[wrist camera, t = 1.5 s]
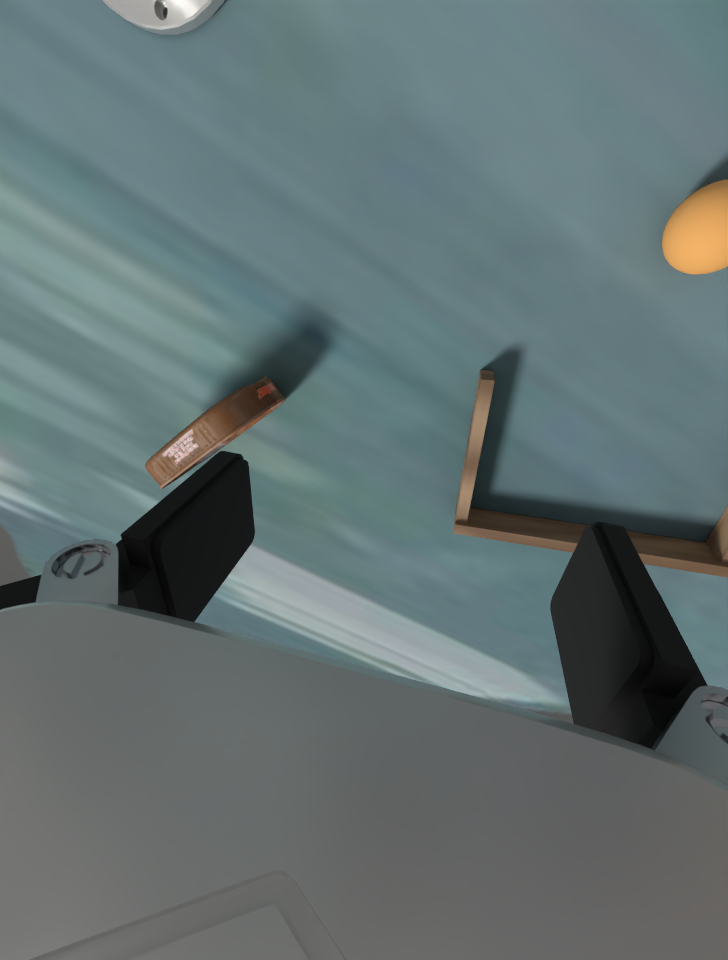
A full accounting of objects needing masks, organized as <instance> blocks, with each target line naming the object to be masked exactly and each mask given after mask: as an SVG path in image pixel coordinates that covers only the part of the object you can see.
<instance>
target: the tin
mask: <svg viewBox="0 0 728 960" xmlns="http://www.w3.org/2000/svg"><path fill="white" fill-rule="evenodd" d="M285 400H286V398H285V397H283V396H282V395H281V393H280V392H279V390H278V389H277V388H276V386H275V385H274V384H273V382H272V381H271V380H270V379H269V378H268V377H263V378H262V379H261V380H260V381H258V382H256V383H254V384H252V385H249V386H245V387H243V388H240V389H239V390H237V391H235V392H234V393H232V394H230V395H229V396H227V397H226V398H224V399H223V400H221V401H220V402H218V403H217V404H216V405H214V406H213V407H211V408H210V409H209V410H207V411H206V412H205V413H204V414H202V415H201V416H200V417H198V418H197V419H196V420H195V421H193V422H192V423H191V424H190V425H189V426H187V427H186V428H185V429H184V430H183V431H181V432H180V433H179V434H178V435H177V436H175V437H174V438H173V439H172V440H171V441H169V442H168V443H167V444H166V445H165V446H164V447H162V448H161V449H160V450H159V451H158V452H157V453H156V454H154V455H153V456H152V457H151V458H150V459H149V460H148V461H147V462H146V464H145V468H146V469H147V471H148V472H149V473H150V475H151V476H152V477H153V478H154V479H155V480H156V481H157V483H158V484H159V485H160V488H161V489H163V488H164V487H166V486H167V485H169V484H170V483H172V482H174V481H175V480H177V479H178V478H179V477H181V476H182V475H184V474H185V473H187V472H188V471H190V470H191V469H192V468H194V467H195V466H197V465H198V464H200V463H201V462H203V461H205V460H206V459H208V458H209V457H210V456H212V455H213V454H214V453H216V452H217V451H219V450H220V449H221V448H223V447H224V446H225V445H227V444H228V443H230V442H231V441H232V440H234V439H235V438H236V437H238V436H239V435H240V434H242V433H243V432H244V431H246V430H247V429H248V428H250V427H251V426H253V425H254V424H255V423H257V422H258V421H259V420H261V419H262V418H263V417H265V416H266V415H267V414H269V413H270V412H272V411H273V410H274V409H275V408H277V407H278V406H279V405H281V404H282V403H283V402H284V401H285Z"/></svg>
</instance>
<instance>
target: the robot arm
mask: <svg viewBox="0 0 728 960" xmlns="http://www.w3.org/2000/svg"><path fill="white" fill-rule="evenodd" d="M103 1H104V2H105V3H106V5H107V6H108V7H110V8H111V9H112V10H114V11H115V12H117V13H118V14H119V15H121V16H122V17H123V18H125V19H126V20H128V21H129V22H131V23H133V24H135V25H136V26H138V27H140V28H142V29H143V30H147V31H150V32H153V33H157V34H160V35H178V34H182V33H185V32H188V31H191V30H194V29H196V28H197V27H198V26H200V25H201V24H203V23H204V22H206V21H207V20H208V19H210V18H211V16H212V15H213V14H214V13H215V12H216V11H217V10H218V8H219V7H220V6H221V5H222V4H223V3H224V1H225V0H103ZM254 534H255V529H254V518H253V507H252V497H251V486H250V476H249V465H248V462H247V461H246V460H244V459H243V457H242V455H241V454H236V453H231V452H226V451H220V452H219V453H217V454H216V455H215V456H214V457H213V458H211V459H210V460H209V461H208V462H207V463H205V464H204V465H203V466H202V467H201V468H200V469H198V470H197V471H196V472H195V473H194V474H192V475H191V476H190V477H189V478H188V479H186V480H185V481H184V482H183V483H182V484H180V485H179V486H178V487H177V488H176V489H174V490H173V491H172V492H171V493H170V494H169V495H167V496H166V497H165V498H164V499H163V500H161V501H160V502H159V503H158V504H157V505H155V506H154V507H153V508H152V509H151V510H149V511H148V512H147V513H146V514H145V515H143V516H142V517H141V518H140V519H139V520H137V521H136V522H135V523H134V524H133V525H132V526H130V527H129V528H128V529H127V530H126V531H124V532H123V533H122V534H121V537H122V540H121V541H119V542H118V543H117V544H116V545H115V544H113V543H112V542H110V541H107V540H100V539H93V540H85V541H81V542H77V543H74V544H71V545H69V546H67V547H65V548H63V549H61V550H60V551H58V552H57V553H55V554H54V555H52V556H51V557H50V559H49V560H48V561H47V562H46V563H45V566H44V568H43V570H42V575H39V576H35V577H31V578H28V579H24V580H21V581H17V582H14V583H10V584H7V585H2V586H0V960H728V690H727V689H724V688H721V687H716V686H710V685H707V684H706V682H705V680H704V678H703V676H702V674H701V672H700V670H699V668H698V666H697V664H696V663H695V661H694V659H693V657H692V655H691V653H690V651H689V649H688V647H687V645H686V643H685V641H684V640H683V638H682V636H681V634H680V632H679V630H678V628H677V626H676V624H675V622H674V620H673V618H672V617H671V615H670V613H669V611H668V609H667V607H666V605H665V603H664V601H663V599H662V597H661V595H660V594H659V592H658V591H657V589H656V587H655V585H654V583H653V581H652V579H651V578H650V576H649V574H648V572H647V570H646V568H645V566H644V564H643V562H642V560H641V558H640V556H639V554H638V553H637V551H636V549H635V547H634V545H633V543H632V541H631V539H630V537H629V535H628V533H627V531H626V530H625V528H624V527H622V526H618V525H612V524H607V523H602V522H597V523H595V524H594V525H593V526H587V527H586V528H585V530H584V532H583V534H582V536H581V538H580V540H579V542H578V544H577V546H576V548H575V550H574V553H573V555H572V557H571V559H570V561H569V563H568V565H567V567H566V569H565V571H564V574H563V576H562V578H561V580H560V582H559V584H558V586H557V588H556V590H555V592H554V595H553V597H552V600H551V615H552V620H553V625H554V630H555V634H556V639H557V644H558V649H559V654H560V659H561V664H562V668H563V673H564V678H565V683H566V688H567V693H568V698H569V702H570V707H571V712H572V717H573V722H574V724H571V723H568V722H565V721H561V720H557V719H554V718H551V717H547V716H544V715H540V714H537V713H533V712H530V711H526V710H523V709H519V708H515V707H512V706H508V705H504V704H501V703H497V702H493V701H490V700H486V699H482V698H479V697H475V696H471V695H468V694H464V693H460V692H456V691H453V690H449V689H445V688H442V687H438V686H434V685H431V684H427V683H423V682H420V681H416V680H412V679H408V678H405V677H401V676H397V675H393V674H390V673H386V672H382V671H378V670H375V669H371V668H367V667H363V666H360V665H356V664H352V663H348V662H345V661H341V660H337V659H333V658H330V657H326V656H322V655H318V654H314V653H311V652H307V651H303V650H299V649H296V648H292V647H288V646H284V645H280V644H276V643H273V642H269V641H265V640H261V639H257V638H253V637H249V636H246V635H242V634H238V633H234V632H230V631H226V630H223V629H219V628H215V627H211V626H207V625H203V624H199V623H195V622H194V621H195V620H196V619H197V617H198V616H199V615H200V613H201V612H202V611H203V609H204V608H205V606H206V605H207V604H208V602H209V601H210V600H211V598H212V597H213V595H214V594H215V593H216V591H217V590H218V589H219V587H220V586H221V584H222V583H223V582H224V580H225V579H226V578H227V576H228V575H229V574H230V572H231V571H232V569H233V568H234V567H235V565H236V564H237V563H238V561H239V560H240V558H241V557H242V556H243V554H244V553H245V552H246V550H247V549H248V547H249V546H250V545H251V543H252V541H253V539H254Z"/></svg>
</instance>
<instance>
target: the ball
mask: <svg viewBox="0 0 728 960" xmlns="http://www.w3.org/2000/svg"><path fill="white" fill-rule="evenodd" d="M662 248H663V253H664V256H665V258H666V260H667V261H668V263H669V264H670V265H671V266H672V267H674V268H675V269H677V270H679V271H681V272H684V273H688V274H706V273H711V272H715V271H718V270H721V269H723V268H725V267H727V266H728V179H726V180H721V181H717V182H714V183H711V184H709V185H707V186H704V187H702V188H701V189H699V190H697V191H696V192H694V193H693V194H692V195H690V196H689V197H688V198H686V199H685V200H684V201H683V202H682V203H681V204H680V205H679V206H678V207H677V209H676V210H675V211H674V212H673V214H672V215H671V217H670V219H669V221H668V222H667V225H666V227H665V230H664V233H663V239H662Z"/></svg>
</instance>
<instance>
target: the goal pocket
mask: <svg viewBox="0 0 728 960" xmlns="http://www.w3.org/2000/svg"><path fill="white" fill-rule="evenodd" d="M494 383H495V378H494V371H487V370H480V375H479V380H478V386H477V392H476V397H475V403H474V409H473V414H472V420H471V426H470V432H469V437H468V443H467V449H466V454H465V460H464V466H463V471H462V477H461V483H460V488H459V494H458V500H457V505H456V511H455V521H454V533H456V534H462V535H468V536H474V537H480V538H487V539H493V540H499V541H505V542H511V543H518V544H524V545H530V546H536V547H542V548H549V549H555V550H561V551H567V552H573V553H574V550H575V548H576V546H577V544H578V542H579V540H580V538H581V536H582V534H583V532H584V530H585V528H586V527H587V526H590V525H584V524H577V523H570V522H563V521H557V520H550V519H543V518H536V517H530V516H523V515H516V514H509V513H503V512H496V511H489V510H483V509H476V508H470V504H471V499H472V494H473V489H474V484H475V479H476V474H477V469H478V464H479V458H480V453H481V448H482V443H483V438H484V433H485V428H486V423H487V418H488V413H489V408H490V403H491V398H492V393H493V388H494ZM627 533H628V535H629V537H630V539H631V541H632V543H633V545H634V547H635V549H636V551H637V553H638V554H639V556H640V558H641V560H642V562H643V564H648V565H654V566H660V567H666V568H673V569H679V570H685V571H691V572H697V573H703V574H710V575H716V576H722V577H728V507H727V508H726V510H725V511H724V513H723V515H722V516H721V518H720V520H719V521H718V523H717V524H716V526H715V528H714V529H713V531H712V533H711V534H710V536H709V537H708V539H707V541H706V542H698V541H691V540H685V539H678V538H671V537H664V536H658V535H651V534H644V533H637V532H631V531H627Z"/></svg>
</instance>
